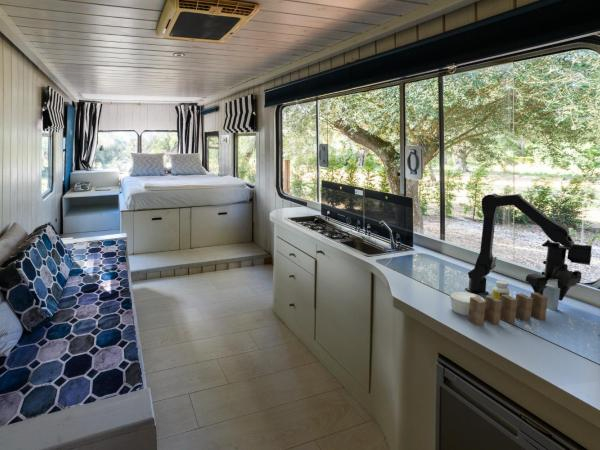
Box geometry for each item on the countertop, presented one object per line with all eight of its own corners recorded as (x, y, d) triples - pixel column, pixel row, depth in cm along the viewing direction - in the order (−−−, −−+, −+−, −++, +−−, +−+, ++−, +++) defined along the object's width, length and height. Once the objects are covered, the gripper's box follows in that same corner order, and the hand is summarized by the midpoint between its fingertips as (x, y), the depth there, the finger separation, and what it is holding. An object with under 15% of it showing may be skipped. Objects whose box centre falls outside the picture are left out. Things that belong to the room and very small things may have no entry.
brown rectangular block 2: (528, 314, 145) (531, 292, 143) (533, 314, 145) (536, 292, 144) (539, 320, 140) (542, 297, 138) (544, 319, 140) (548, 297, 139)
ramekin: (488, 318, 141) (490, 303, 140) (455, 317, 141) (457, 302, 140) (475, 305, 152) (476, 292, 151) (445, 304, 152) (446, 291, 151)
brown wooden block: (498, 317, 142) (501, 294, 140) (504, 316, 142) (506, 294, 141) (509, 323, 137) (511, 300, 136) (514, 322, 138) (517, 299, 136)
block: (541, 304, 154) (544, 284, 152) (546, 304, 154) (549, 284, 153) (552, 310, 149) (555, 288, 148) (557, 309, 150) (560, 288, 148)
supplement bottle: (498, 311, 147) (501, 284, 145) (487, 305, 152) (490, 280, 150) (510, 309, 148) (513, 283, 147) (499, 304, 154) (502, 279, 152)
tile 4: (483, 318, 140) (485, 296, 139) (489, 317, 141) (491, 295, 139) (493, 324, 136) (496, 301, 134) (499, 323, 136) (501, 300, 135)
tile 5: (467, 319, 139) (470, 297, 138) (473, 319, 140) (476, 296, 138) (477, 325, 134) (479, 302, 133) (483, 325, 135) (485, 302, 133)
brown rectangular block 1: (513, 315, 143) (516, 293, 142) (519, 315, 144) (521, 293, 142) (524, 321, 138) (527, 299, 137) (530, 321, 139) (532, 298, 137)
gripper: (552, 267, 139) (546, 311, 142) (597, 264, 143) (590, 307, 146) (527, 258, 149) (522, 299, 152) (569, 256, 154) (563, 296, 156)
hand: (549, 301), depth 151 cm, fingers open, 9 cm apart
